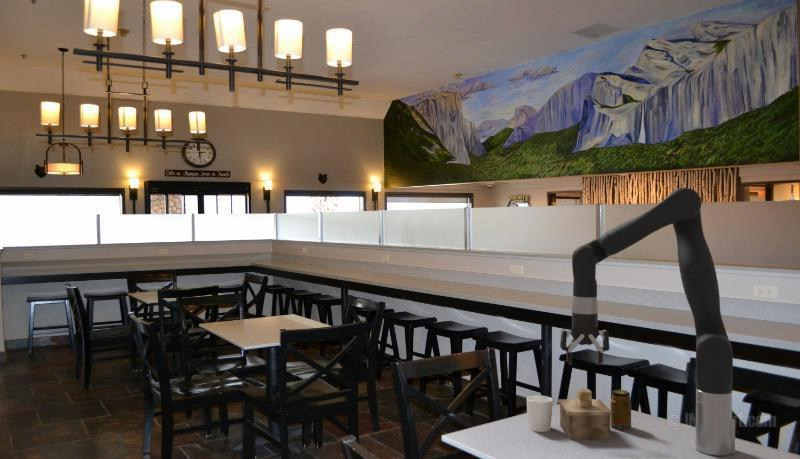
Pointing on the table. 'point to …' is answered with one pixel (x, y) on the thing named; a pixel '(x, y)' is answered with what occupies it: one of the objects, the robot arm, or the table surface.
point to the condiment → (621, 410)
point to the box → (585, 426)
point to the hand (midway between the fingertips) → (584, 364)
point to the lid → (584, 404)
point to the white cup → (539, 413)
